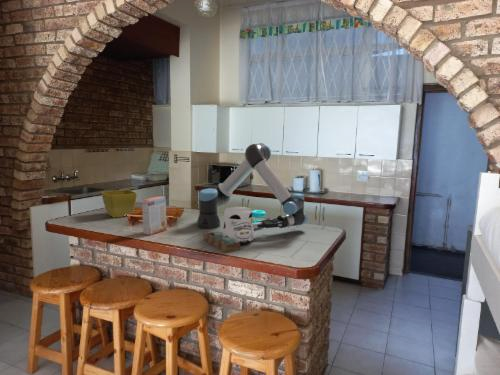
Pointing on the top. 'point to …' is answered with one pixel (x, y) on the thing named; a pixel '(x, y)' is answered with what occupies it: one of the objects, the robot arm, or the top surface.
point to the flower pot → (119, 202)
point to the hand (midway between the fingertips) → (251, 226)
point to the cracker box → (154, 215)
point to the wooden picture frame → (220, 243)
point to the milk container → (238, 224)
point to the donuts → (258, 215)
